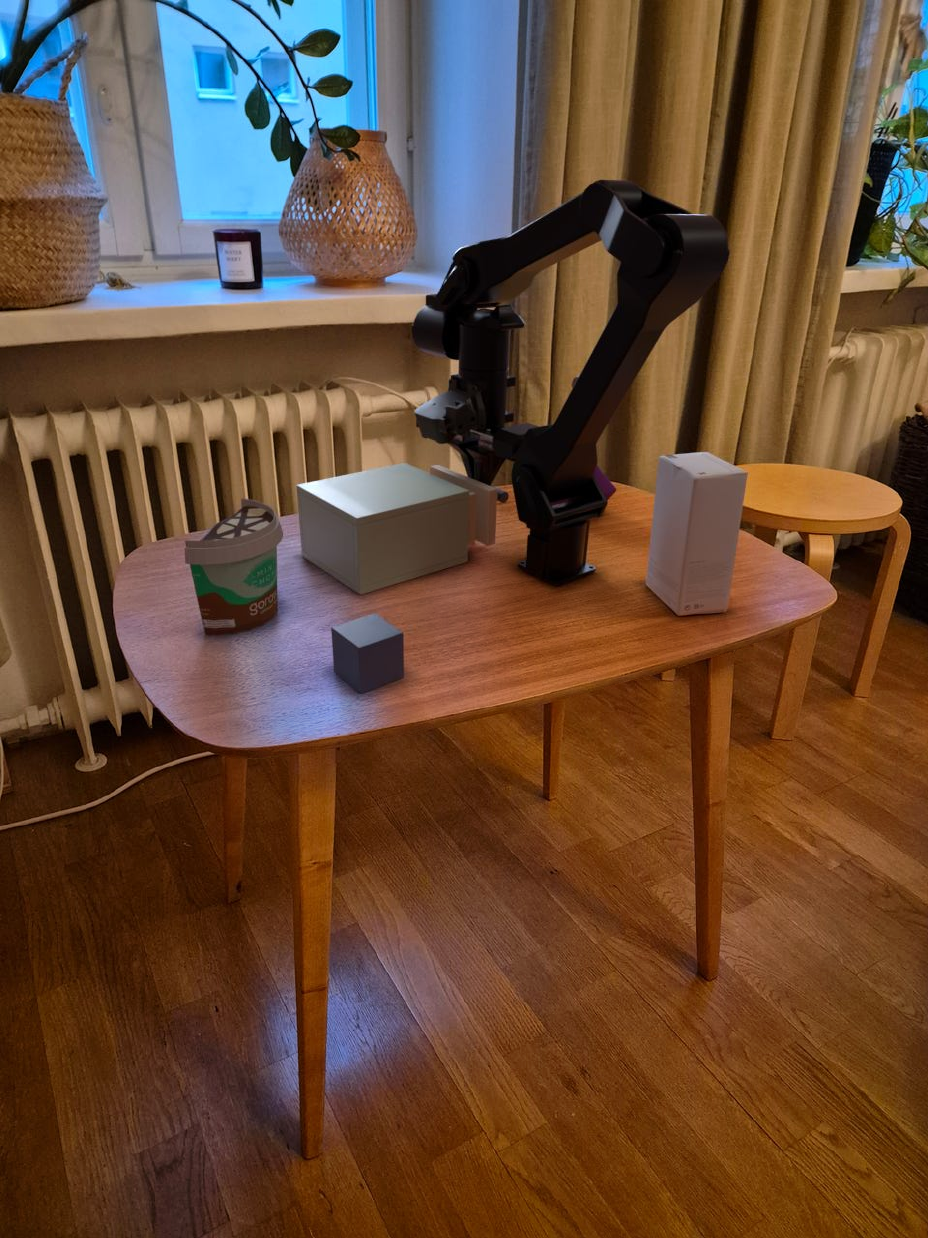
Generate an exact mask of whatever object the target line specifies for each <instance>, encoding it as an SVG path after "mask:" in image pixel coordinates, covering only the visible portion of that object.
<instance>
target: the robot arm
mask: <svg viewBox="0 0 928 1238" xmlns="http://www.w3.org/2000/svg"><path fill="white" fill-rule="evenodd" d="M728 241H729V240H728V235H727V233H726V230H725V227H724V225H723V224H722V222H721V221H720V220H719V219H718V218H716V217H714V216H712V215H710V214H702V213H700V214H699V213H695V214H694V213H692V212H691V211H689V210H687V209H686V208H683V207H682V206H679V205H676V204H675V203H672V202H670V201H667V200H664V199H663V198H660V197H658V196H656V195H653V193H650V192H649V191H647V190H646V189H644V188H643V187H641V186H640V185H638V184H637V183H635V182H634V181H631V180H624V179H623V180H621V179H598V180H594V182H592V183H590V184H588V186H586V187H585V188H584V189H583V191H582V192H581V193H579V194H577V195H575V196H574V197H572V198H570V199H569V200H567V201H565V202H563V203H561V204H560V205H558V206H556V207H555V208H553V209H552V210H549V211H548V212H546V213H544V214H543V215H541V216H540V217H538V218H536V219H535V220H533V221H531V222H530V223H528V224H526V225H524V226H523V227H521V228H520V229H518V230H516V231H514V232H513V233H511V234H509V235H506V236H502V237H498V238H493V239H487V240H481V241H478V242H474V243H470V244H467V245H462V246H460V247H459V248H458V249H457V250H456V251H455V252H454V254H453V256H452V263H450V266H449V268H448V271H447V273H446V275H445V277H444V279H443V282H442V283H441V286H440V288H439V290H438V292H437V293H430V294H426V295H425V305H423V307H421V308H420V309H419V310H418V311H417V313H416V314H415V316H414V320H413V323H412V324H411V337H412V340H413V343H414V344H415V346H416V348H417V349H419V350H420V351H421V352H424V353H426V354H430V355H434V356H438V357H442V358H445V359H449V360H452V361H453V360H454V361H458V373H456V374H450V378H449V379H448V388H447V391H446V392H443V393H441V394H437V395H436V396H434V397H433V398H431V399H429V400H428V401H426V402H423V403H421V404H420V406H418V407H417V408H416V409H414V411H413V412H414V416H415V427H416V428H418V429H419V432H420V436H421V437H422V438H423V439H425V440H426V439H429V440H431V441H434V442H435V443H436V444H439V445H444V444H445V445H446V444H447V445H449V446H450V447H452V448H453V449H454V450H455V451H456V452H457V453H458V454H459V455H460V459H461V461H462V463H463V466H464V469H465V470H464V471H465V473H466V476H467V477H469V478H471V479H474V480H476V481H479V482H481V483H484V484H486V485H488V486H492V484H493V482H494V481H495V479H496V477H497V475H498V473H499V471H500V469H501V467H502V466H503V465H504V463H505V462H506V460H507V461H510V462H513V464H512V468H511V474H510V477H511V486H512V491H513V496H514V502H515V507H516V513H517V518H518V521H519V522H521V523H524V524H525V525H526V526H525V528H527V529H529V534H527V539H526V552H525V554H526V555H525V559H524V560H521V561H518V562H517V567H518V568H519V569H521V570H523V571H525V572H526V573H529V574H531V575H533V576H535V577H537V578H539V579H541V580H543V581H545V582H547V583H549V584H551V585H553V586H560V585H563V584H566V583H569V582H572V581H575V580H577V579H580V578H583V577H585V576H588V575H591V574H594V573H596V570H597V568H596V566H594V565H592V564H589V563H588V562H587V555H588V546H589V535H590V526H591V520H592V519H596V518H602V517H603V515H604V513H605V510H606V509H607V506H608V503H609V502H608V501H609V500H608V501H607V499H606V497H605V495H604V493H603V491H602V489H601V487H600V486H599V484H598V482H597V480H596V478H595V476H594V471H595V469H596V466H597V465H598V462H599V461H598V460H599V457H598V446H597V444H598V441H599V440H600V438H601V436H602V435H603V433H604V431H605V430H606V428H607V426H608V425H609V424H610V423H609V421H610V420H611V419H612V418H613V416H614V414H615V412H616V411H617V410H618V408H619V406H620V404H621V403H622V401H623V400H624V398H625V396H626V395H627V393H628V391H629V390H630V388H631V387H632V384H633V383H634V381H635V380H636V378H637V376H638V374H639V373H640V371H641V369H642V368H643V366H644V364H645V363H646V361H647V359H648V358H649V356H650V354H651V353H652V351H653V350H654V348H655V346H656V345H657V343H658V342H659V339H660V338H661V336H662V335H663V333H664V331H665V330H666V329H667V328H668V327H669V325H670V324H671V323H673V322H674V321H675V320H676V319H678V318H679V317H680V316H682V315H683V314H684V313H685V312H686V311H688V310H689V309H690V308H691V307H693V306H694V305H695V304H697V303H698V302H699V301H700V300H701V298H702V297H703V296H704V295H705V294H706V293H707V291H709V289H710V288H711V287H712V286H713V284H715V282H717V280H718V278H719V277H720V276H721V275H722V274H723V272H724V270H725V268H726V267H727V264H728V262H729V257H730V253H731V251H730V249H729V242H728ZM599 242H602V244H603V246H604V248H605V250H606V252H607V253H608V254H610V255H611V256H612V257H613V258H615V259H616V260H617V261H619V262H620V263H619V265H618V269H617V273H616V285H617V286H616V289H617V290H616V291H617V292H616V293H617V303H616V306H615V308H614V309H613V312H612V314H610V315H611V316H610V317H609V319H608V321H607V323H606V325H605V326H604V329H603V330H602V332H601V334H600V336H599V338H598V340H597V342H596V343H595V345H594V347H593V349H592V351H591V353H590V355H589V357H588V359H587V360H586V362H585V364H584V366H583V368H582V369H581V371H580V374H579V375H578V376H579V377H578V379H577V381H576V383H575V385H574V387H573V388H572V387H571V390H570V392H569V394H568V396H567V397H566V400H565V401H564V403H563V405H562V407H561V409H560V411H559V412H558V415H557V417H556V419H555V420H554V422H553V423H551V424H546V425H541V426H540V425H536V424H532V423H530V422H525V423H520V424H515V425H510V426H506V424H508V423H513V422H514V421H515V420H514V419H515V413H514V412H513V411H509V410H508V392H509V391H508V389H509V388H511V387H512V388H513V387H516V386H517V385H516V382H517V377H516V376H513V375H510V373H509V369H510V352H511V351H510V348H511V331H512V330H519V329H524V328H525V322H524V320H523V318H522V317H521V316H520V315H519V314H518V313H517V312H516V311H515V309H514V306H513V305H512V304H503V303H507V302H512V301H514V300H515V299H516V298H518V297H519V296H520V295H521V294H522V293H524V292H525V291H526V290H527V289H529V288H531V286H532V284H533V281H534V279H535V277H536V276H537V275H538V274H539V273H541V272H542V271H545V270H546V269H548V268H550V267H552V266H555V265H556V264H558V263H560V262H562V261H563V260H565V259H567V258H570V257H572V256H573V255H576V254H577V253H580V252H582V251H583V250H585V249H587V248H590V247H591V246H593V245H595V244H597V243H599ZM493 308H494V309H493ZM608 423H609V424H608ZM565 499H568V502H564V503H561V504H557V505H553V506H551V504H550V503H554V502H557V501H561V500H565Z"/></svg>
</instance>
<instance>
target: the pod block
mask: <svg viewBox="0 0 928 1238" xmlns="http://www.w3.org/2000/svg"><path fill="white" fill-rule="evenodd" d="M330 632H331V645H332V646H331V648H332V660H333V661H332V663H333V672H334V673H335V674H337V676H339V677H340V678H341V679H342V680H344V681H345V682H346V683H347V684H348V685H349V686H351V687H352V688H353V689H354V690H356V691H357V692H358V693H359V694H364V693H366V692H370V691H372V690H375V689H378V688H379V687H382V686H385V685H387V684H390V683H392V682H395V681H397V680H401V679H402V678H405V647H404V646H405V643H404V642H405V641H404V640H405V639H404V637H405V636H404V635H405V634H404V631H402V630H400V629H399V628H397V627H396V626H395V625H393V623H390V622H389V621H387V620H386V619H384V618H383V617H382V616H380V615H378V614H377V613H374V612H373V613H371V614H368V615H365V616H362V617H359V618H356V619H351V620H350V621H346V622H343V623H340V624H336V625H334V626H331V628H330Z"/></svg>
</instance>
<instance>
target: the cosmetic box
mask: <svg viewBox="0 0 928 1238" xmlns="http://www.w3.org/2000/svg"><path fill="white" fill-rule="evenodd" d="M748 476H749V472H748V471H746V470H744V469H742V468H740V467H738V466H736V465H734V464H731V463H730V462H729V461H726V460H724V459H722V458H720V457H718V456H716V455H714V454H712V453H710V452H709V451H700V452H689V453H677V454H676V453H675V454H666V455H665V454H664V455H660V456H658V462H657V471H656V479H655V480H656V481H655V491H654V500H653V508H652V509H653V511H652V519H651V529H650V530H651V531H650V539H649V551H648V558H647V569H646V577H645V586H646V587H647V588H648V589H650V591H651V592H653V593H654V595H656V596H657V597H658V598H659V599H660V600H661V601H662V602H663V603H664V604H665V605H666V606H667V607H668V608H670V610H672V611H673V612H674V613H675V614H676V615H677V616H680V617H681V616H689V615H699V614H701V615H702V614H717V613H726V612H727V610H728V607H729V602H730V594H731V588H732V581H733V575H734V568H735V561H736V555H737V549H738V548H737V547H738V542H739V536H740V535H739V534H740V528H741V523H742V521H741V520H742V515H743V508H744V502H745V501H744V500H745V495H746V494H745V493H746V488H747V481H748Z"/></svg>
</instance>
